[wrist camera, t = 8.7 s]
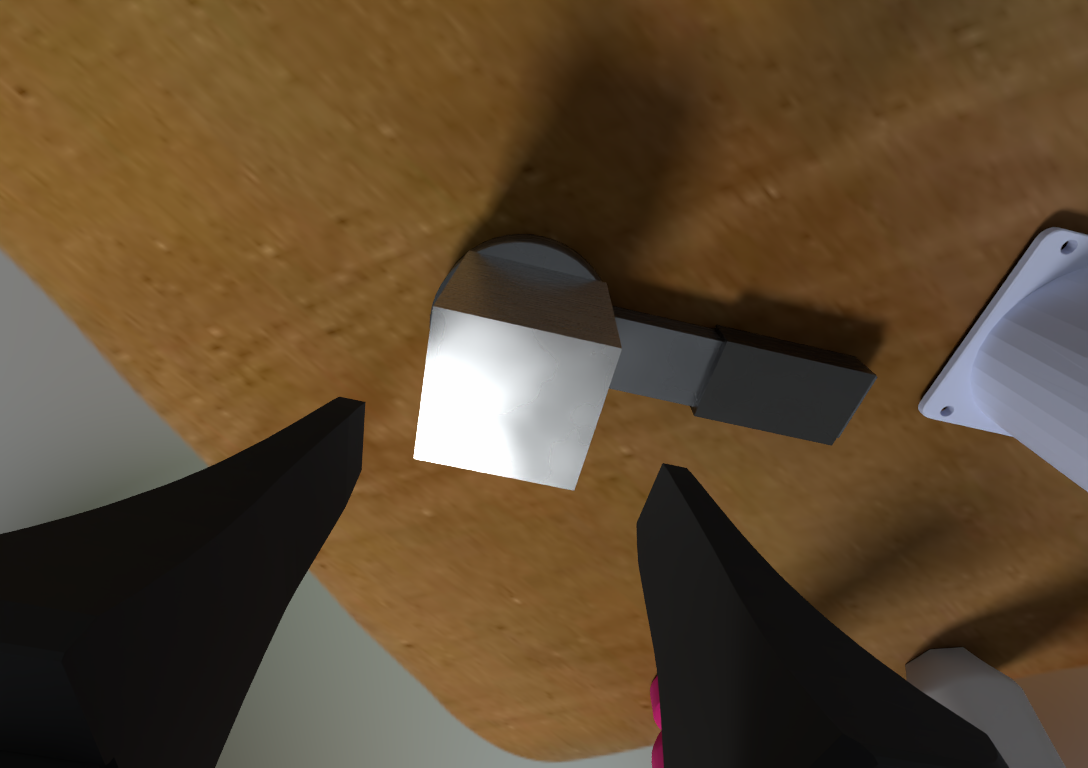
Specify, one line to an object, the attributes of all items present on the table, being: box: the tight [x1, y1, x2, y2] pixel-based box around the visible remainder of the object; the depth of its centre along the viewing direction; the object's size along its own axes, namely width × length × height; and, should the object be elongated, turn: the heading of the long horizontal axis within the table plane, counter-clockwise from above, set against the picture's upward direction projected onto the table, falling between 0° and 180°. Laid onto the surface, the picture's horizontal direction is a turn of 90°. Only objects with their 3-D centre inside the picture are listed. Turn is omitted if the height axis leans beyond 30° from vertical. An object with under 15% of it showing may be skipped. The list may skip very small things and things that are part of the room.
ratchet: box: [430, 234, 877, 445], centre depth 19 cm, size 17×7×4 cm, turn 77°
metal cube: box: [414, 251, 622, 490], centre depth 17 cm, size 5×5×6 cm
